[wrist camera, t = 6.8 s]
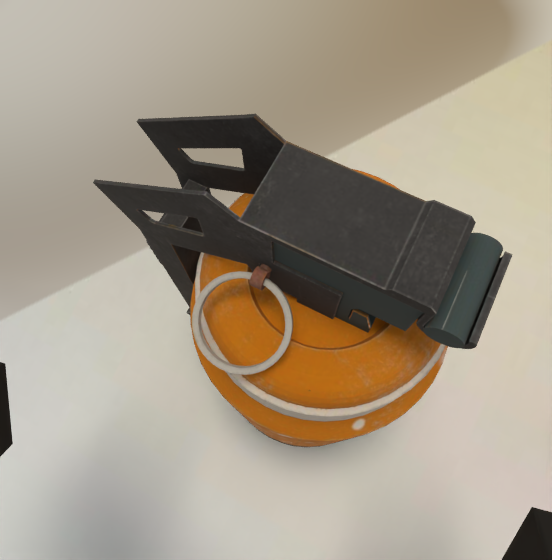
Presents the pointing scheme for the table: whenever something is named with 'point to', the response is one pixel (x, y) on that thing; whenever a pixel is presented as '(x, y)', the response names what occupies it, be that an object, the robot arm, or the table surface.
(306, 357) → the canister
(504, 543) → the table surface
